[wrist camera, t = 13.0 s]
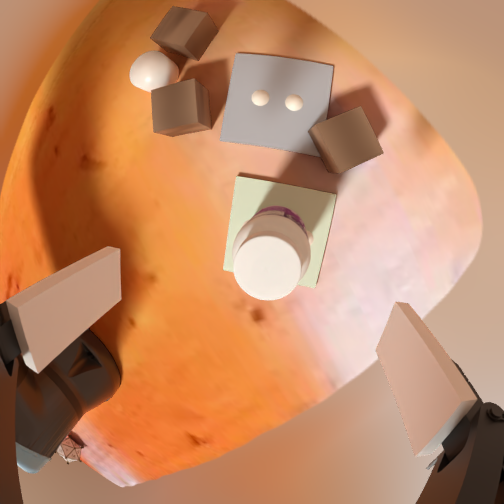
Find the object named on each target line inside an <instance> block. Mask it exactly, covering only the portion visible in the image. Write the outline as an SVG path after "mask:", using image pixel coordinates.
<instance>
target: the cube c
mask: <svg viewBox="0 0 504 504" xmlns="http://www.w3.org/2000/svg"><path fill="white" fill-rule="evenodd" d="M308 133H309V135H310V137H311V139H312V141H313V143H314V144H315V146H316V148H317V150H318V152H319V154H320V156H321V158H322V160H323V162H324V164H325V166H326V168H327V170H328V172H332V173H342V172H344V171H346V170H349V169H351V168H353V167H355V166H357V165H359V164H361V163H364V162H366V161H368V160H370V159H372V158H374V157H377V156H379V155H381V154H383V150H382V148H381V146H380V144H379V142H378V139H377V137H376V135H375V133H374V131H373V129H372V127H371V125H370V123H369V121H368V119H367V117H366V115H365V113H364V111H363V109H362V107H361V106H359V107H357V108H354V109H352V110H349V111H347V112H344V113H342V114H340V115H337V116H335V117H332V118H330V119H328V120H325V121H323V122H321V123H318V124H316V125H315V126H314V127H312V128H311V129H310V130H309V131H308Z"/></svg>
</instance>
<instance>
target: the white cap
mask: <svg viewBox="0 0 504 504" xmlns="http://www.w3.org/2000/svg"><path fill="white" fill-rule="evenodd" d="M178 76H179V69H178V66H177V65H176V64H175V63H174V62H173V61H172V60H170V59H169V58H168V57H167V56H165V55H164V54H163V53H161V52H159V51H148V52H146V53H144V54H142V55H141V56H139V57H138V58H137V59H136V60H135V61H134V63H133V65H132V67H131V69H130V80H131V82H132V84H133V85H134V86H136V87H138V88H141V89H143V90H145V91H147V92H149V93H151V90H153V89H156V88H160V87H163V86H167V85H170V84H174V83H176V82H177V79H178Z"/></svg>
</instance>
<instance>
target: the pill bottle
mask: <svg viewBox="0 0 504 504" xmlns="http://www.w3.org/2000/svg"><path fill="white" fill-rule="evenodd" d="M310 258H311V249H310V243H309V240H308V235H307V231H306V228H305V225H304V222H303V221H302V219H301V218H300V216H299V215H298V214H297V213H296V212H295V211H293V210H291V209H290V208H287V207H284V206H279V205H274V206H268V207H265V208H263V209H261V210H260V211H258V212H257V213H256V214H255V215H254V216H253V217H252V218H251V219H250V220H249V221H248V222H247V223H246V224H245V225H244V226H243V227H242V228H241V229H240V231H239V232H238V234H237V236H236V238H235V240H234V243H233V248H232V259H233V269H234V275H235V278H236V281H237V282H238V284H239V286H240V287H241V288H242V289H243V290H244V291H245V292H246V293H247V294H249V295H250V296H252V297H255V298H257V299H261V300H276V299H280V298H282V297H284V296H286V295H288V294H289V293H290V292H292V291H293V290H294V288H295V287H296V286H297V284H298V282H299V281H300V280H301V279H302V278H303V276H304V275H305V273H306V272H307V269H308V267H309V264H310Z"/></svg>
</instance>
